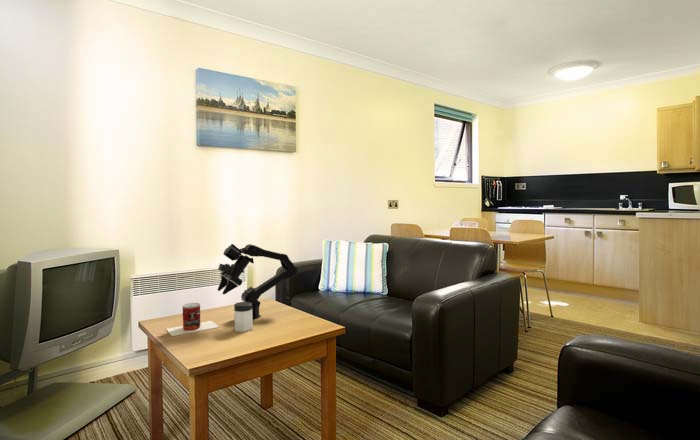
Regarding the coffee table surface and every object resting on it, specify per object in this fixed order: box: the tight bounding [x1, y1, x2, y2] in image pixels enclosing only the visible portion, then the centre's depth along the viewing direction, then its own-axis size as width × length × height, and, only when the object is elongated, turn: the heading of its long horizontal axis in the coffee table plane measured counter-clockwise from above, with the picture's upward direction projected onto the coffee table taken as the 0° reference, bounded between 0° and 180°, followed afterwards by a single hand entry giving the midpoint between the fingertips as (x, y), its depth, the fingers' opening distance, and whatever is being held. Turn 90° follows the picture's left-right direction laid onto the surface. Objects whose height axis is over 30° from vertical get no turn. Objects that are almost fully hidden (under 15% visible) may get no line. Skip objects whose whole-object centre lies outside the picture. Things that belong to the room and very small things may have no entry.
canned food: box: [182, 302, 201, 330], centre depth 181 cm, size 8×8×11 cm
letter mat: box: [165, 320, 220, 337], centre depth 181 cm, size 21×12×1 cm, turn 126°
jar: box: [233, 301, 254, 333], centre depth 180 cm, size 9×8×12 cm
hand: (220, 292), depth 190 cm, fingers open, 9 cm apart
